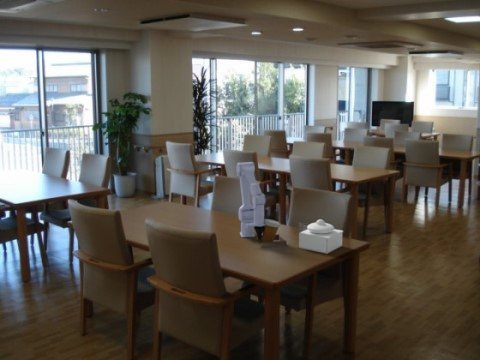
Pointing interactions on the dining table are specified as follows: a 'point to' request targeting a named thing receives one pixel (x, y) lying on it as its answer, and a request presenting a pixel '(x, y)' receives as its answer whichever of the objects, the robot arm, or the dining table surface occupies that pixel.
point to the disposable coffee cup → (270, 230)
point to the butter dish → (320, 237)
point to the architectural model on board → (302, 227)
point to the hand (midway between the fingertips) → (259, 239)
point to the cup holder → (274, 243)
